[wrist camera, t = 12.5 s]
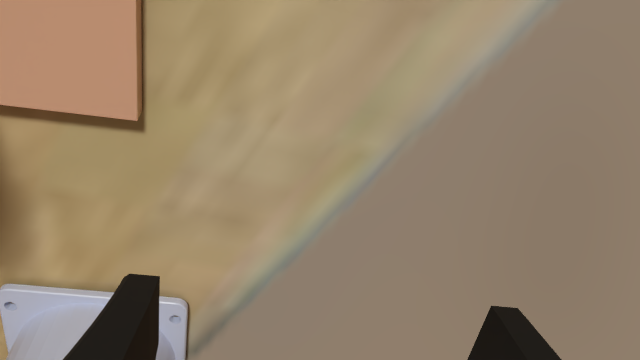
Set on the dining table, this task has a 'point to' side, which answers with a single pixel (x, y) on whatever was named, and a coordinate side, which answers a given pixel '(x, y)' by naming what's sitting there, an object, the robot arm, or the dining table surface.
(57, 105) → the coaster
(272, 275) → the dining table surface
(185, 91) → the dining table surface
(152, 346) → the robot arm
